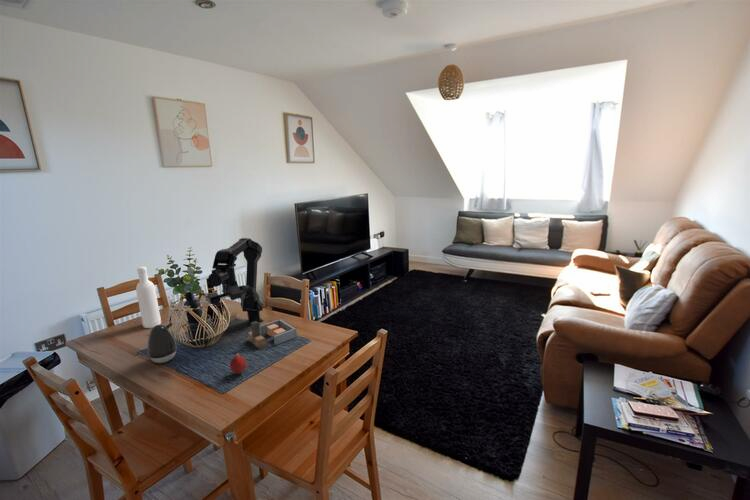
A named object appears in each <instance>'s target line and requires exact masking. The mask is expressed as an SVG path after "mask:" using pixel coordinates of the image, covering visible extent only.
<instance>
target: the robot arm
mask: <svg viewBox="0 0 750 500" xmlns="http://www.w3.org/2000/svg"><path fill="white" fill-rule="evenodd" d="M242 252H243V257H244V260H246V276H245V278H246V279H245V285H243V284H242V285H239V284H238V280H236V273H235V268H236V266H237V264H236V263H235V262H236V261H237V259H238V256H239V255H240V254H241V253H242ZM262 253H263V246H261V245H260V244H259V243H258V242H256V241H255V240H252V238H249V237H248V238H247V237H246V238H245V237H244V238H243V237H241V238H239V239H238V240H237V242H235V243H234V244H232V245H230V246H229V247H228V248H222V249H219V250H217V252H216V253H215V256H214V260H213V263H212V264H213V265H212V270H211V273H210V274H209V275H208V277H207V281H208V283H209V285H210V286H212V287H213V288H214V287H215V288H217V287H219V286H222V287H221V292H222V293H220V294H218V293H216V292H214V293H211V294H207V295H206V296H205V298H206V302H207V303H208V304H210V305H213V306H215V305H216V306H215V307H216V309H217V308H218V309H217V311H219V314H220V315H221V317H222V316H224V311H223V307H222V302H221V300H222V299H225V298H226V299H227V298H229V299H230V300H231V301H236V300H237V299H240V306H241V309H242V312H246V313H247V319H246V320H245V322H246V323H247V324H248V325H250V326H251V322H254V321H257V322H259V323H261V322H264V320H263V319H262V318H261V314H260V312H262V311H263V309H264V303H263V302H262V301H261V300H260V296H259V293H258V292H257V280H258V279H257V278H258V262H259V261H260V259H261V257H262ZM208 279H209V280H210V279H212V281H211V282H210V281H209V280H208Z"/></svg>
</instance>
